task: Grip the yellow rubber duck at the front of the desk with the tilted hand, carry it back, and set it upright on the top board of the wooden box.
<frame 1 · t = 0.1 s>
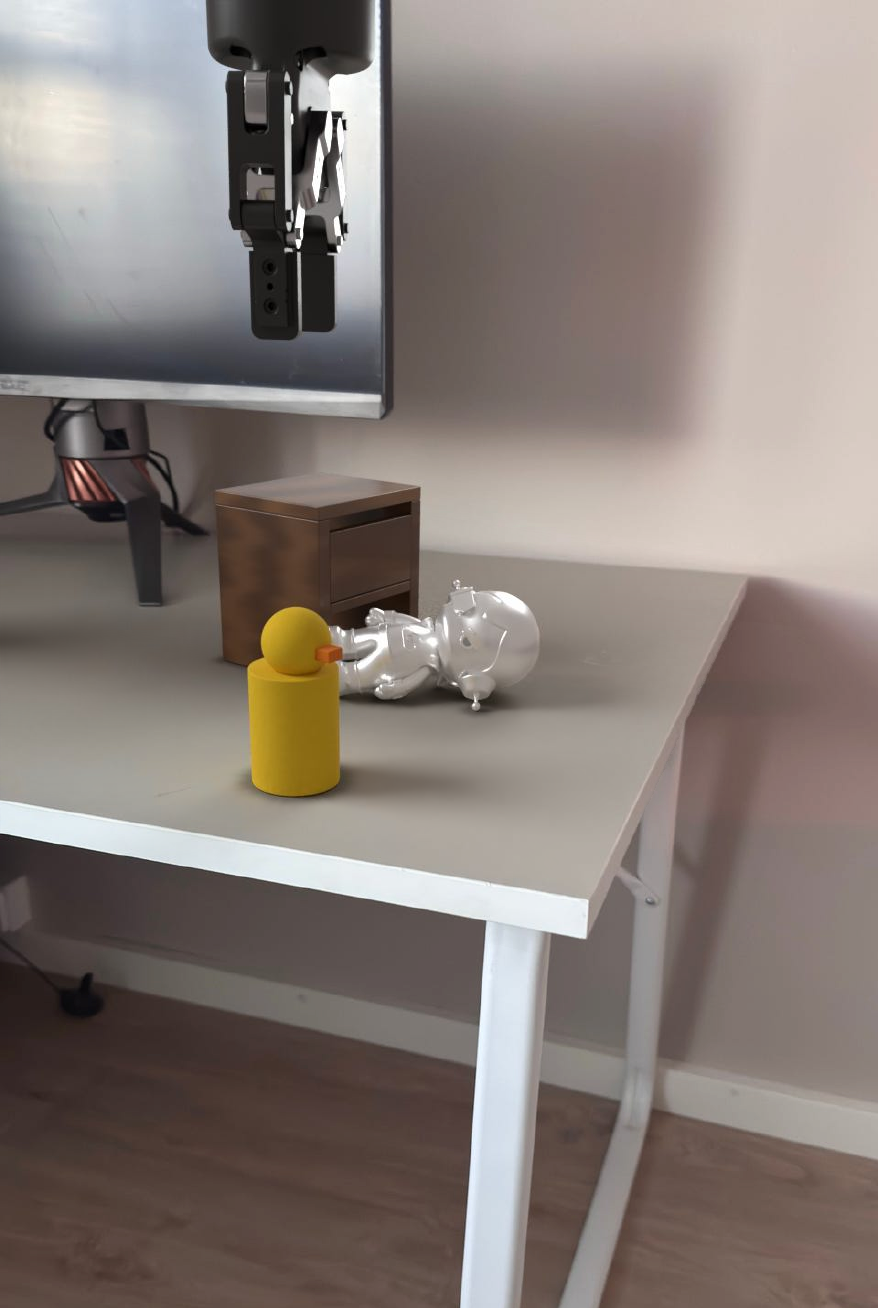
hand: (297, 335, 58), 25 cm above the table, tool pointing down, fingers open, 8 cm apart
wooden box: (322, 654, 93), on the table
figurine: (430, 695, 85), on the table
duck: (296, 779, 70), on the table
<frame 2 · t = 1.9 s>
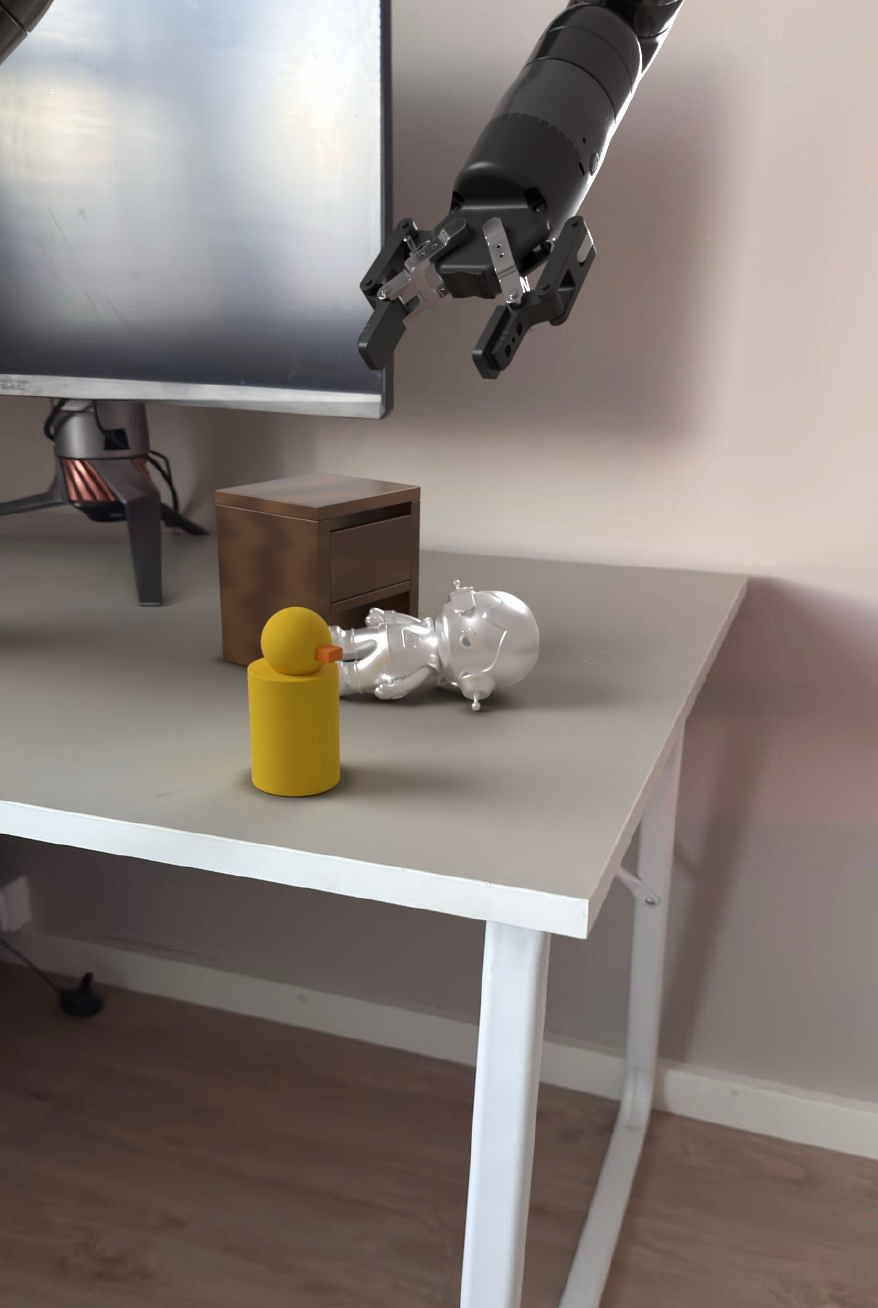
hand: (423, 365, 70), 23 cm above the table, tool tilted 45°, fingers open, 8 cm apart
nothing on the table moved.
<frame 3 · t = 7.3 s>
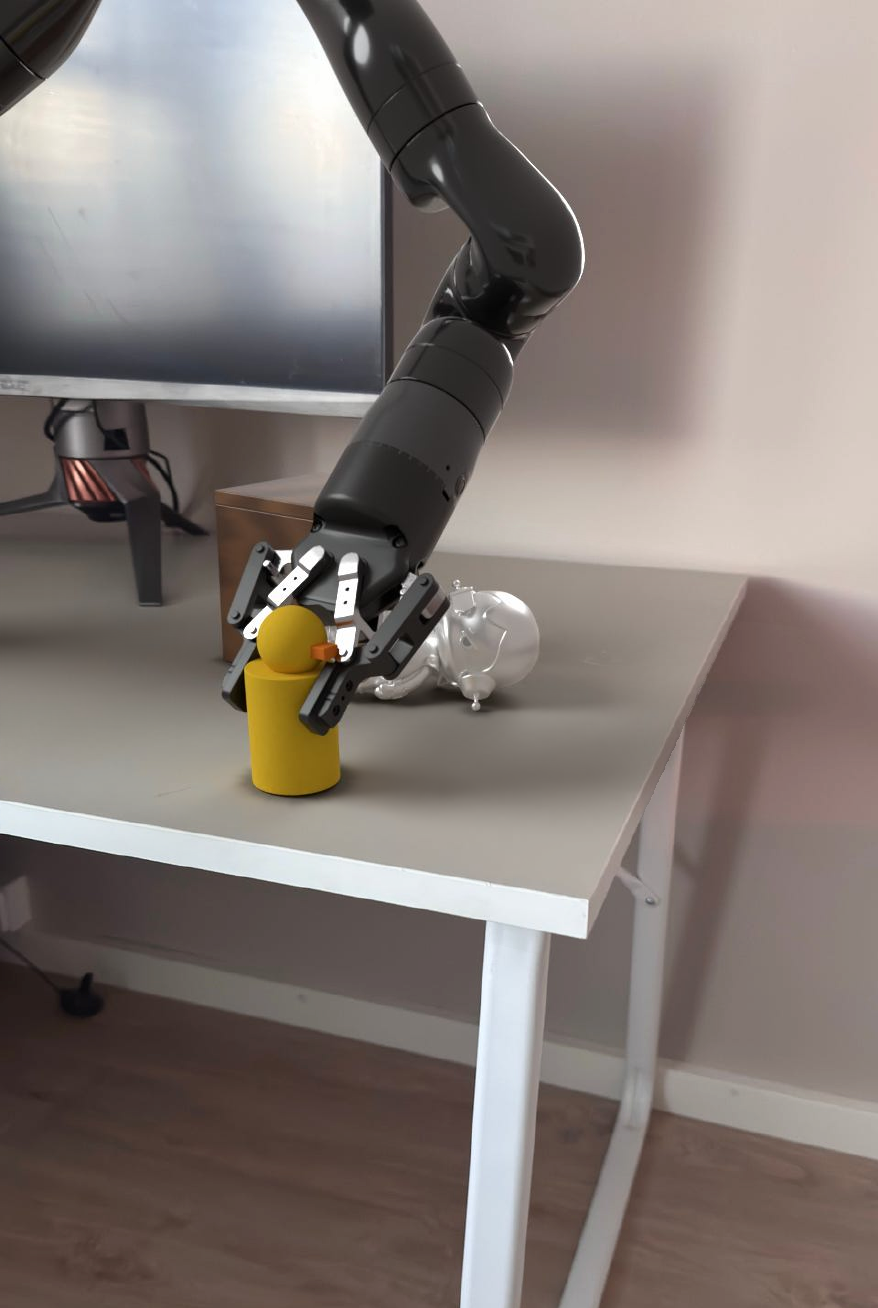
hand: (272, 715, 67), 5 cm above the table, tool tilted 45°, fingers closed on duck, 5 cm apart
duck: (296, 778, 70), on the table, touching gripper
everything else where it was.
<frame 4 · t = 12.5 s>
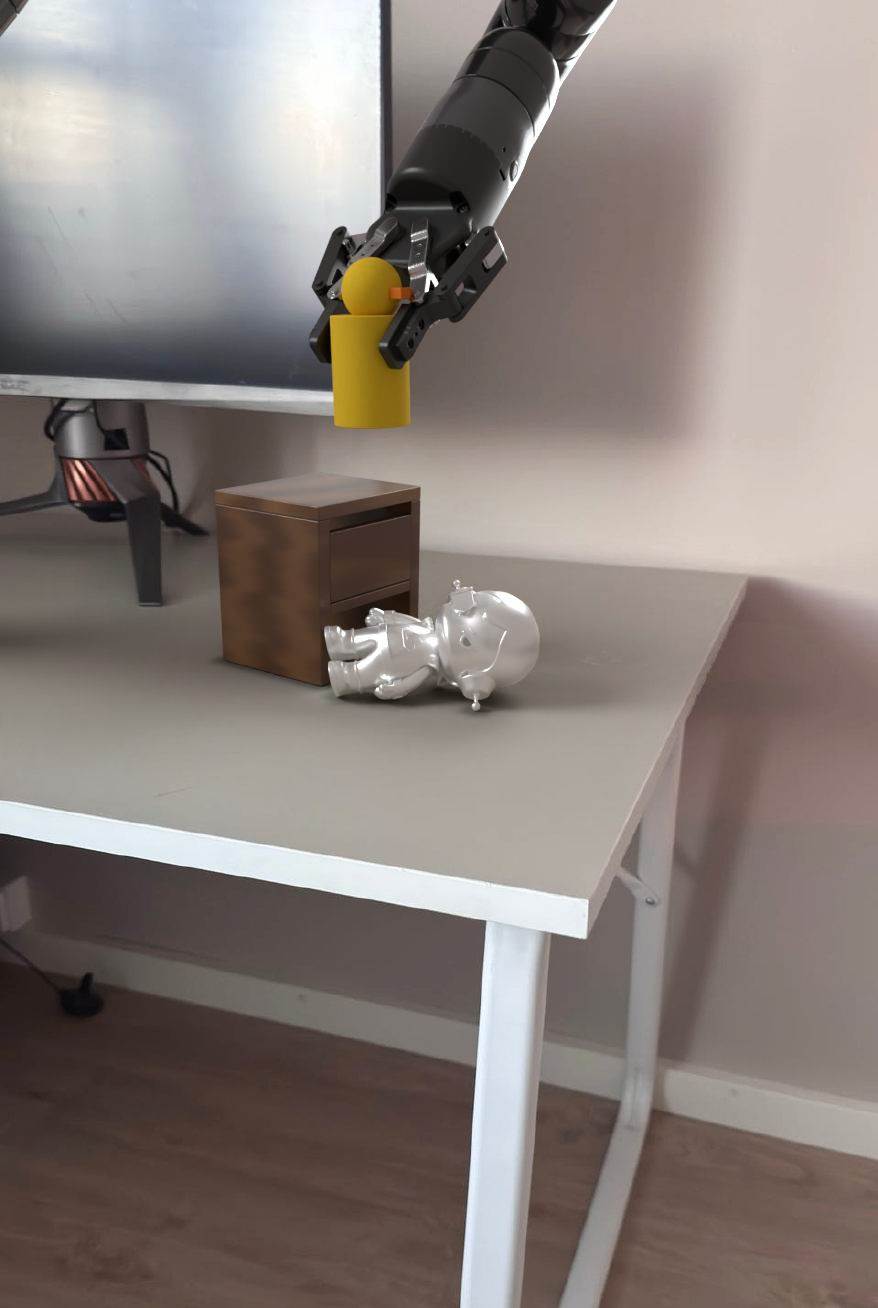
hand: (353, 356, 77), 23 cm above the table, tool tilted 45°, fingers closed on duck, 5 cm apart
duck: (372, 424, 80), point 18 cm above the table, touching gripper
everything else where it was.
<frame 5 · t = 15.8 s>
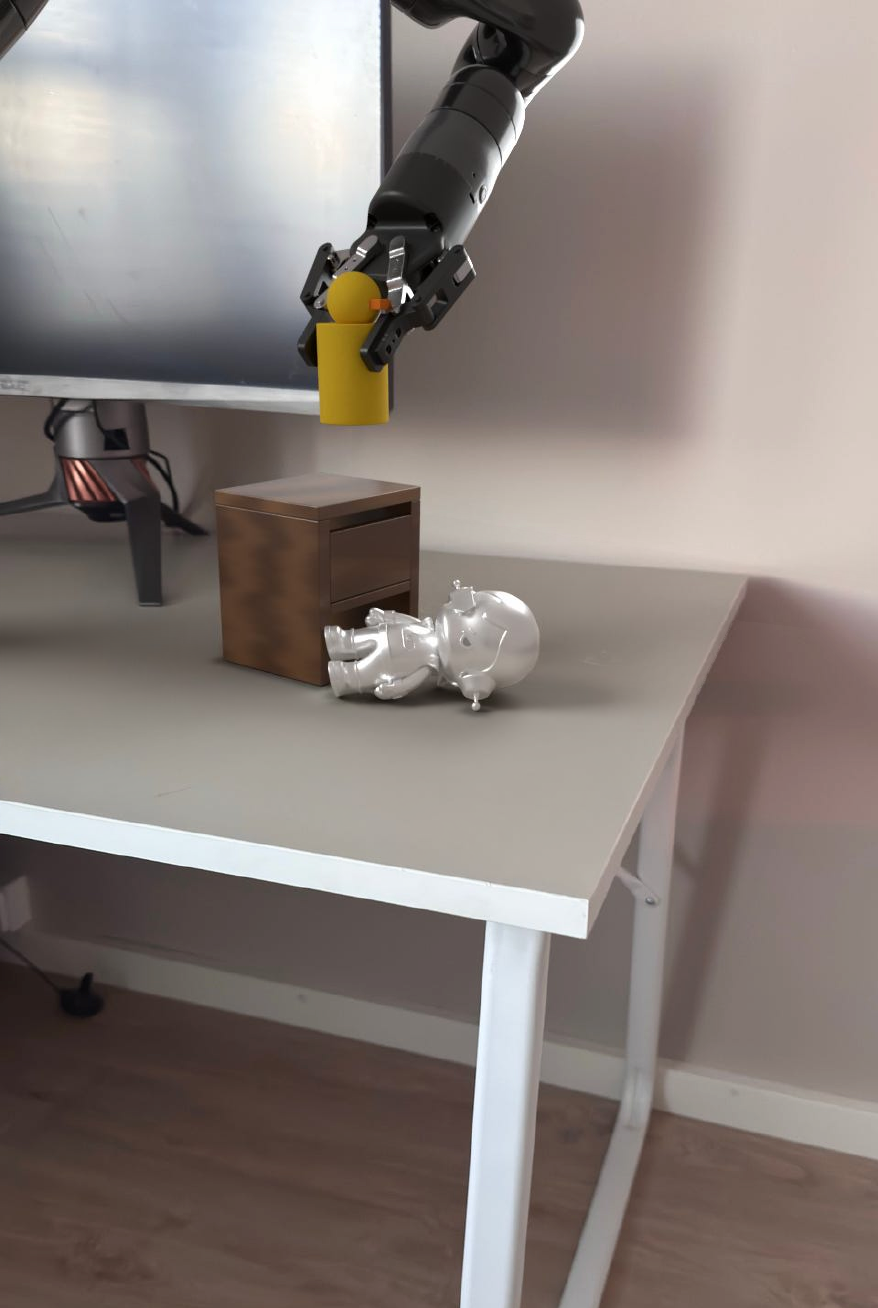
hand: (337, 360, 86), 22 cm above the table, tool tilted 45°, fingers closed on duck, 5 cm apart
duck: (354, 422, 89), point 17 cm above the table, touching gripper
everything else where it was.
when the fingers open (17 cm above the table, at t = 18.0 s): duck moves 2 cm, resting on wooden box.
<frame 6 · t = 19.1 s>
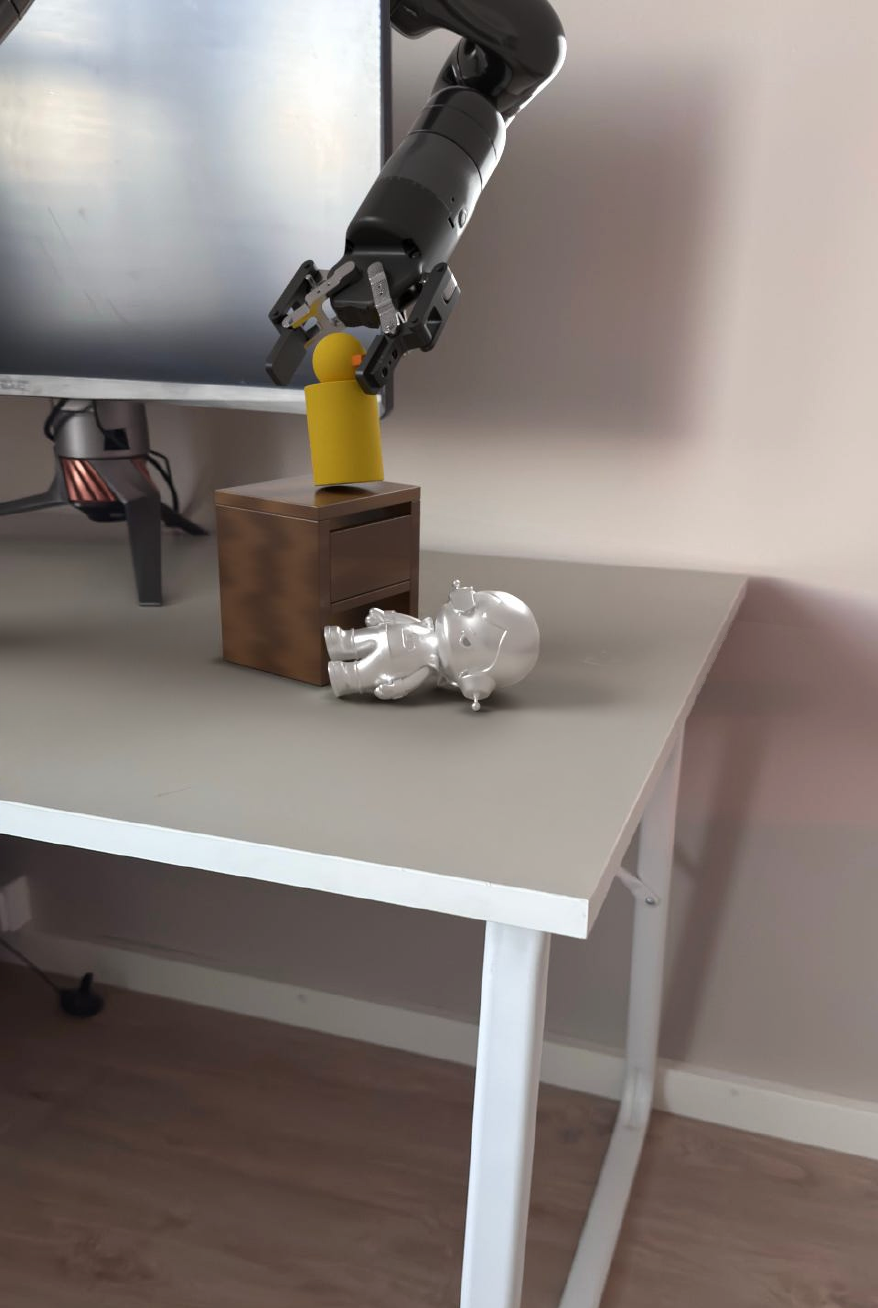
hand: (318, 382, 85), 20 cm above the table, tool tilted 45°, fingers open, 8 cm apart
duck: (349, 483, 87), point 14 cm above the table, tilted 11°, touching wooden box
everything else where it was.
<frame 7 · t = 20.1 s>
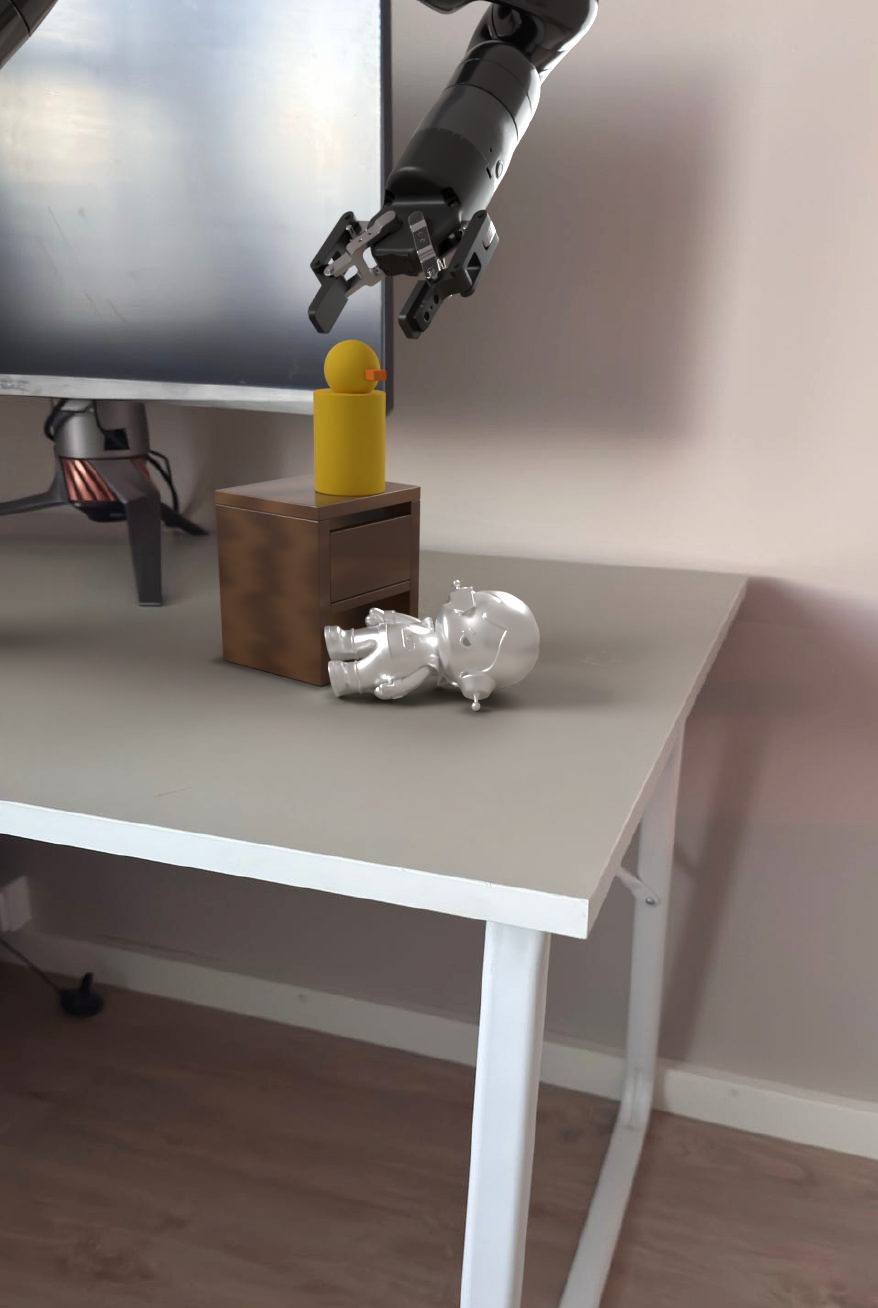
hand: (360, 328, 87), 24 cm above the table, tool tilted 45°, fingers open, 8 cm apart
duck: (349, 490, 87), point 13 cm above the table, touching wooden box
everything else where it was.
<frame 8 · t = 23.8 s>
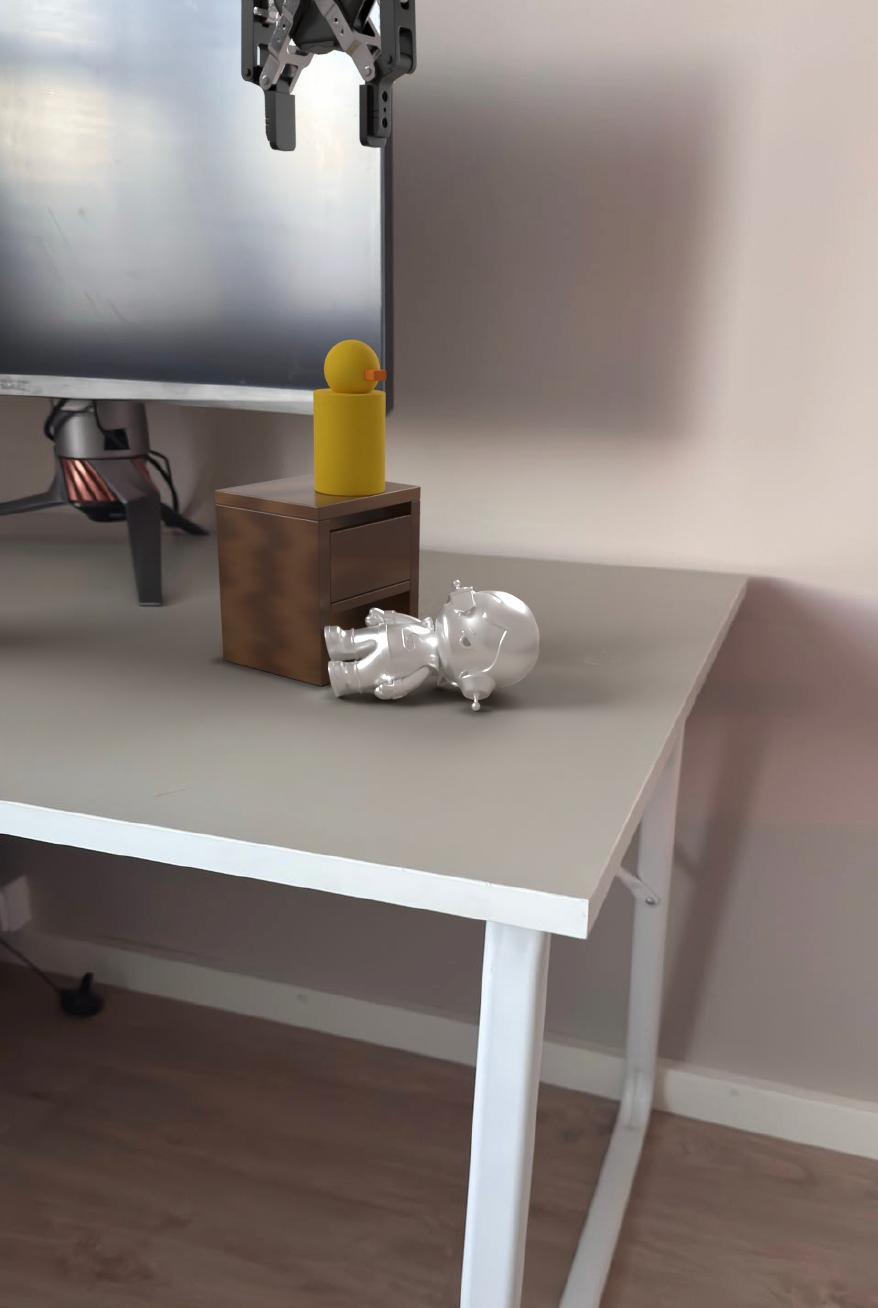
hand: (326, 148, 85), 36 cm above the table, tool pointing down, fingers open, 8 cm apart
nothing on the table moved.
at the end: duck inside the target area on the wooden box (2.4 cm from its centre), point 13.0 cm above the wooden box's base; duck tilted 0°; the gripper is holding nothing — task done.
